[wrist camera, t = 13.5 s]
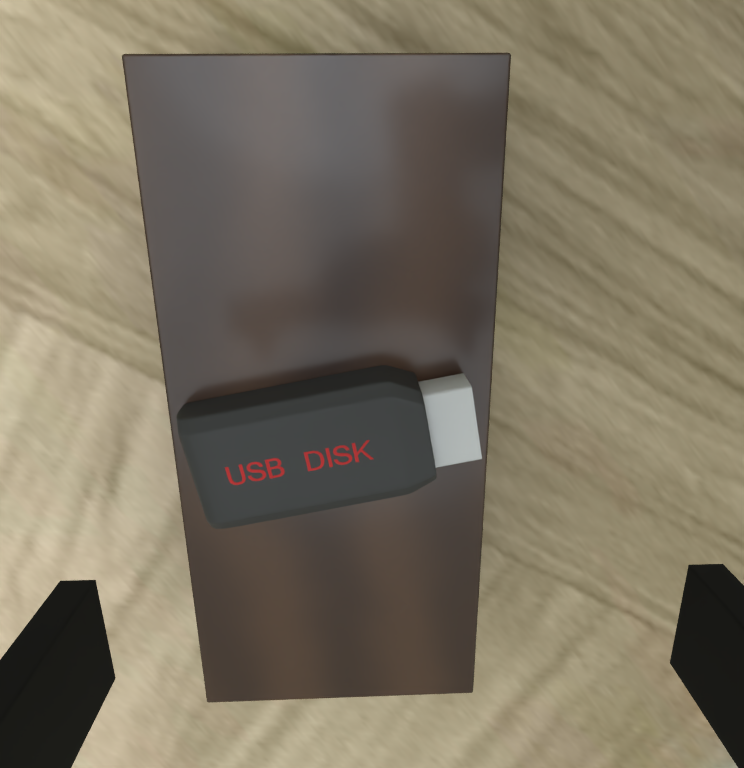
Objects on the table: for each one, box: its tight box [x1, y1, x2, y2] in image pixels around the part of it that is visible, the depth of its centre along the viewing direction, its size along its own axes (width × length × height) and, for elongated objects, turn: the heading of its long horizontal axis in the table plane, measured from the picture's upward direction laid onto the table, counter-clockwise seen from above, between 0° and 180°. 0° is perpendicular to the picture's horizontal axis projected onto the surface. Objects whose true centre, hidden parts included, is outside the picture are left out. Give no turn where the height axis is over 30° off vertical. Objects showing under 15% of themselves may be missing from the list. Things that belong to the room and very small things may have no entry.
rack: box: [122, 53, 511, 702], centre depth 29 cm, size 14×30×8 cm, turn 1°
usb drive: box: [176, 365, 482, 529], centre depth 24 cm, size 5×12×3 cm, turn 101°
